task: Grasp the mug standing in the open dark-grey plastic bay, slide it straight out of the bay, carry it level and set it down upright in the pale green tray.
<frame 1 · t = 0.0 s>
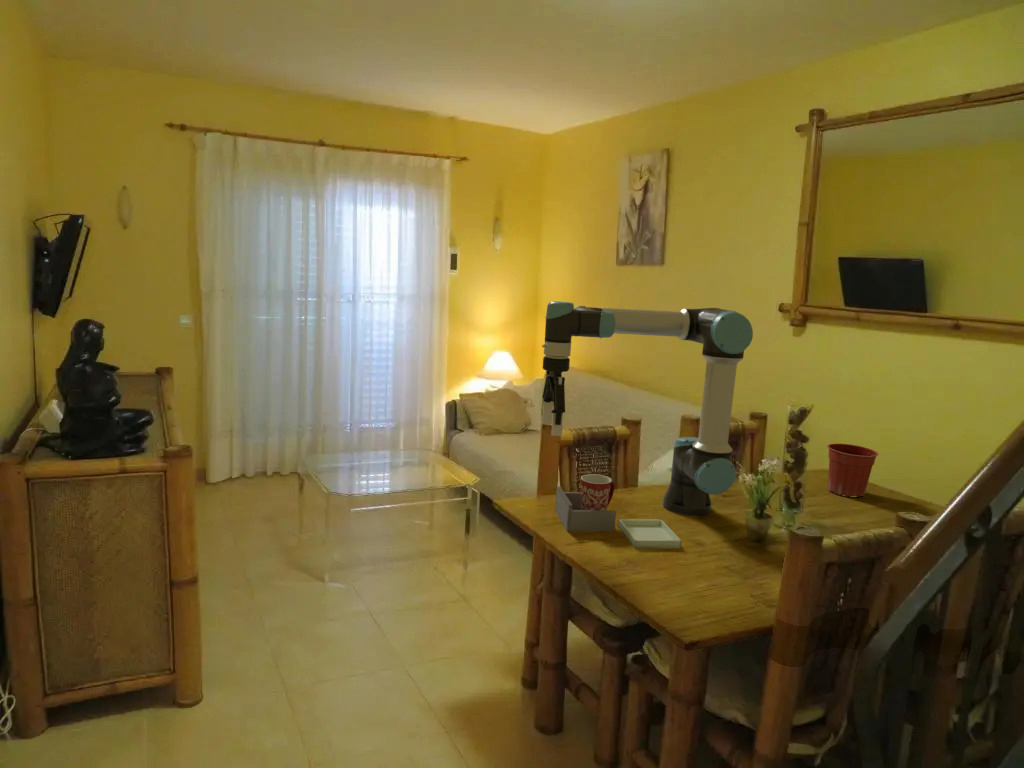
hand: (551, 429, 210), 28 cm above the table, fingers open, 13 cm apart
bay: (583, 520, 218), on the table
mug: (596, 521, 218), on the table
flower pot: (846, 493, 262), on the table
tray: (648, 537, 208), on the table
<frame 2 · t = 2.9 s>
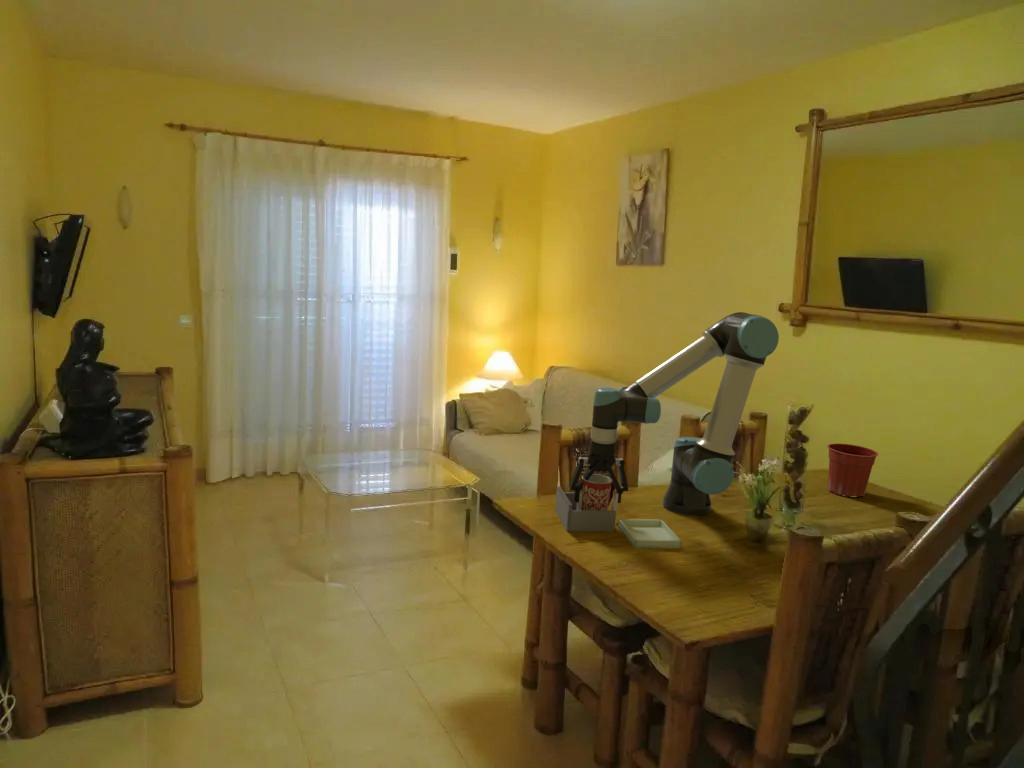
hand: (596, 512, 218), 3 cm above the table, fingers closed on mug, 10 cm apart
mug: (596, 521, 218), on the table, touching gripper
everything else where it was.
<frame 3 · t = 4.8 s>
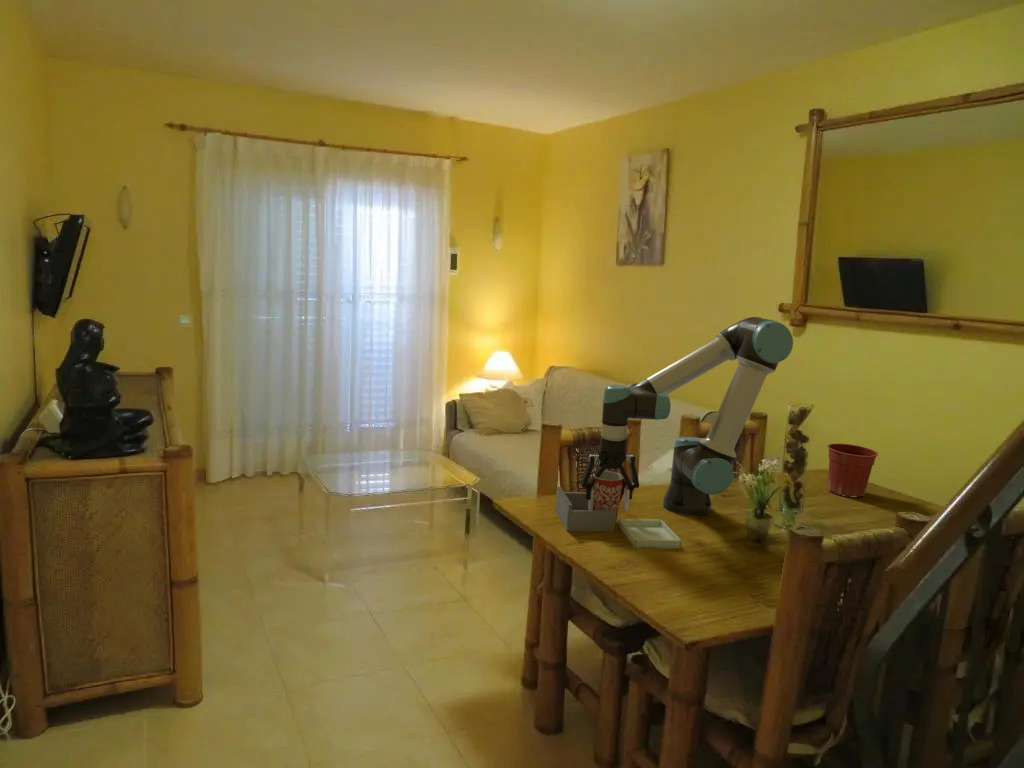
hand: (607, 509, 218), 4 cm above the table, fingers closed on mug, 10 cm apart
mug: (608, 518, 219), point 1 cm above the table, touching gripper
everything else where it was.
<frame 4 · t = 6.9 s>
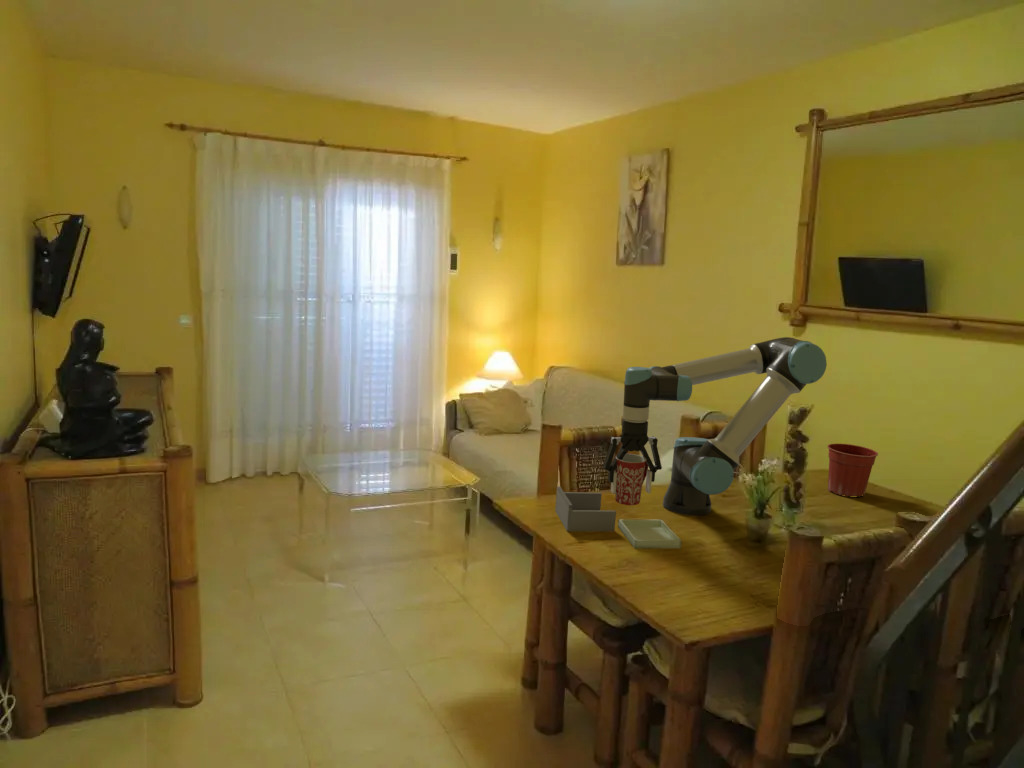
hand: (630, 492, 218), 9 cm above the table, fingers closed on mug, 10 cm apart
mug: (631, 501, 219), point 6 cm above the table, touching gripper
everything else where it was.
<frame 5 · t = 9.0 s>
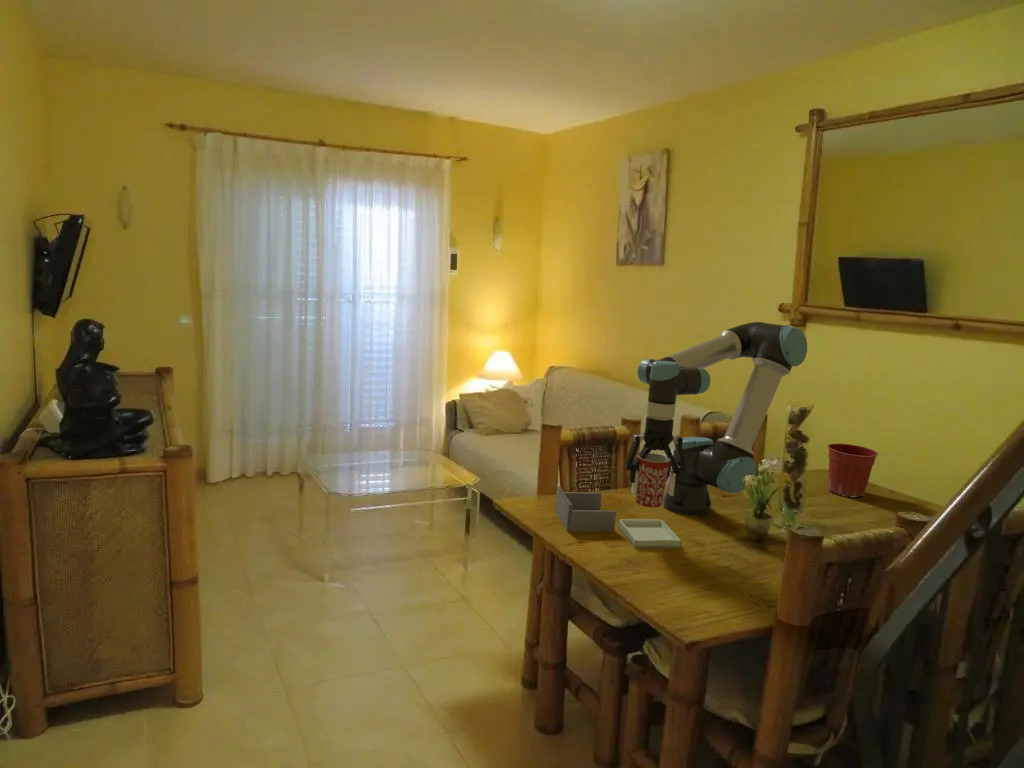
hand: (652, 493, 206), 13 cm above the table, fingers closed on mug, 10 cm apart
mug: (652, 503, 206), point 10 cm above the table, touching gripper
everything else where it was.
when the fingers open (4 cm above the table, at t = 10.7 s): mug drops 1 cm, resting on tray.
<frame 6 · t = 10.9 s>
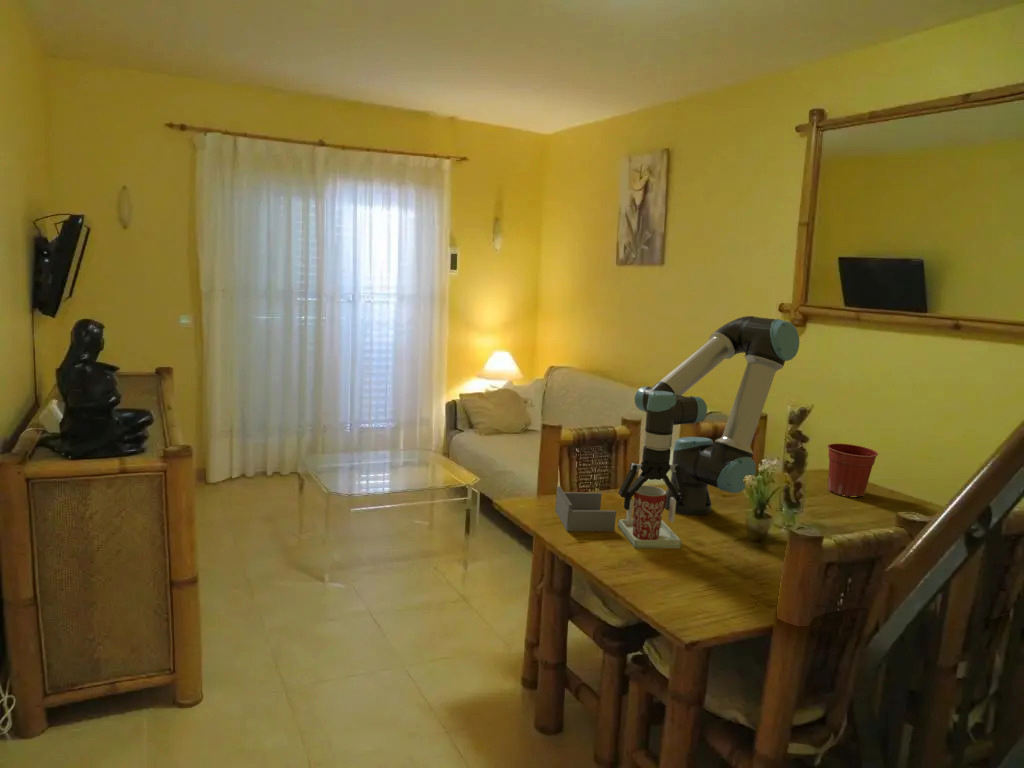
hand: (649, 520, 207), 5 cm above the table, fingers open, 12 cm apart
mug: (649, 535, 208), resting on tray
everything else where it was.
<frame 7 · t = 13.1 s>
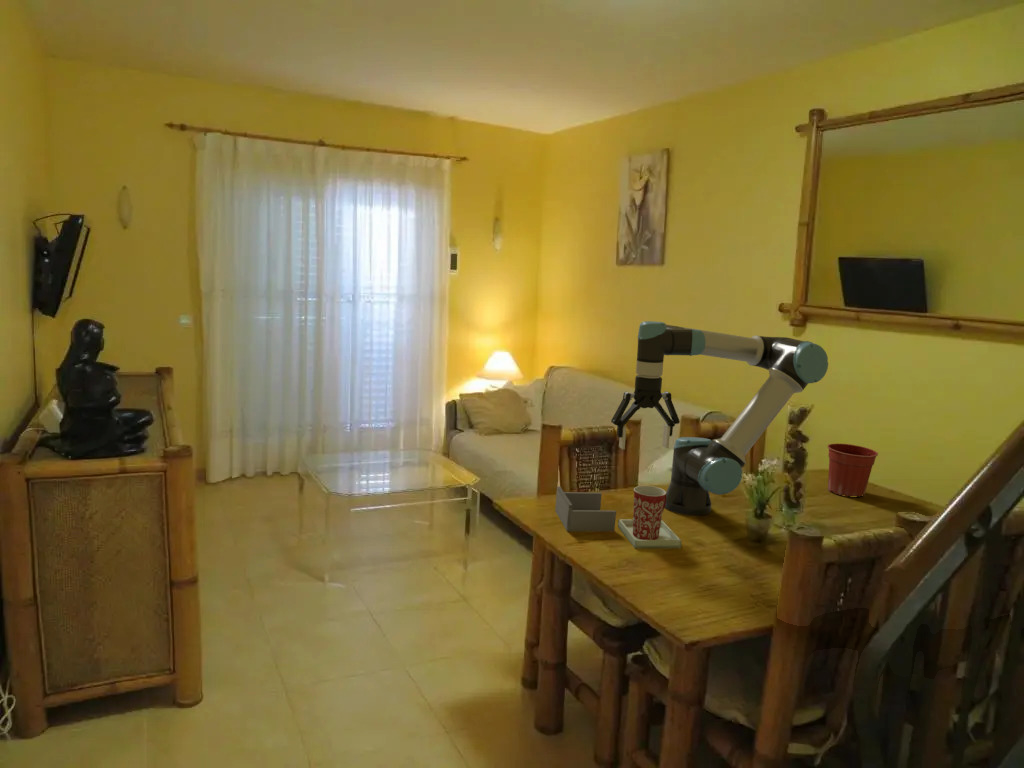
hand: (643, 447, 212), 24 cm above the table, fingers open, 13 cm apart
nothing on the table moved.
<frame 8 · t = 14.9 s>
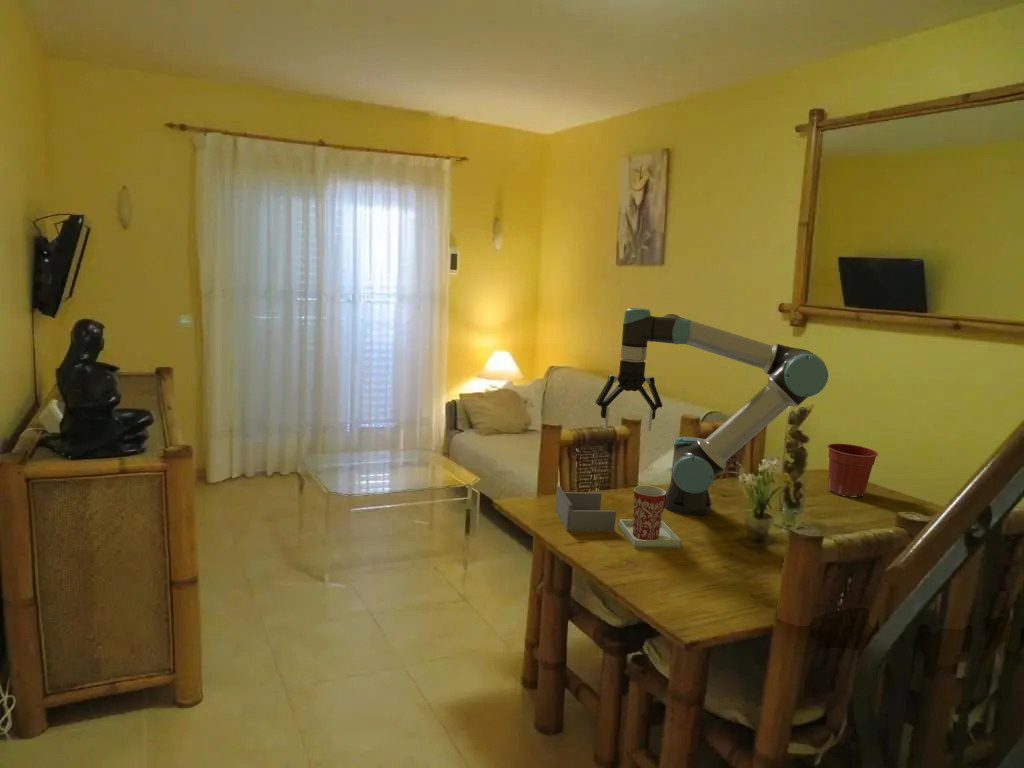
hand: (626, 429, 222), 27 cm above the table, fingers open, 13 cm apart
nothing on the table moved.
at the end: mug inside the target area on the tray (0.6 cm from its centre), point 0.4 cm above the tray's base; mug tilted 0°; the gripper is holding nothing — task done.
